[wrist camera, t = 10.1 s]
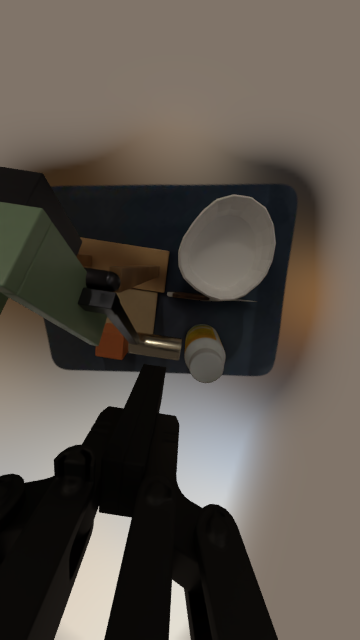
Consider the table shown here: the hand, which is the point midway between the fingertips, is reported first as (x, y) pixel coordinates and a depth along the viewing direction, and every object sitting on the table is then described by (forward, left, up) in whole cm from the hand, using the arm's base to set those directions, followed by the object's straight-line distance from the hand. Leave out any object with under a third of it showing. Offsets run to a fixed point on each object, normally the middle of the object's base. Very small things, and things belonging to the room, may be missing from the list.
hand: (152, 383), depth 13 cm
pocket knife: (-4, +5, -19) cm, 20 cm away
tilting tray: (-6, -6, -4) cm, 10 cm away
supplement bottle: (+3, +5, -19) cm, 20 cm away
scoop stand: (-6, -8, -19) cm, 22 cm away
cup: (-10, +5, -19) cm, 22 cm away
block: (+7, -8, -16) cm, 20 cm away
